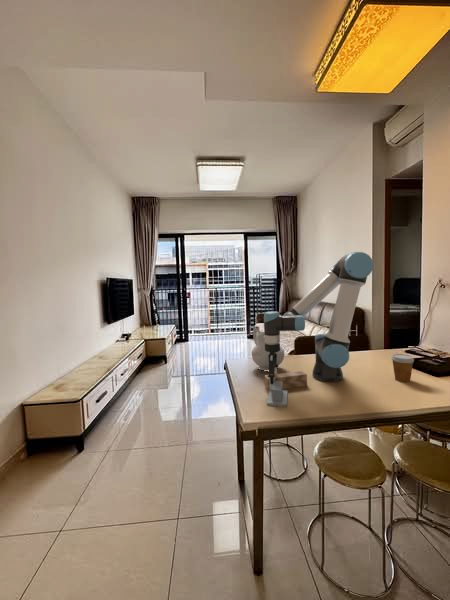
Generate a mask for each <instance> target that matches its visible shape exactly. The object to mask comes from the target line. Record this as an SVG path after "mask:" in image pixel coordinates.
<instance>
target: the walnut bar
mask: <svg viewBox="0 0 450 600" xmlns="http://www.w3.org/2000/svg"><path fill="white" fill-rule="evenodd" d="M271 375H273V374H271ZM268 376H269V374H264V387H265V386H266V387H265V389H267V391H268V390H269V377H268ZM275 381H280V382H283V388H285V389H291V387H293V388H299V387H300V386H301V387H306V386H308V374H307V373H306V372H304V371H303V370H300V371H299V370H298V371H291V372H282V373H277V374H275ZM269 391H270V390H269Z"/></svg>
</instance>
